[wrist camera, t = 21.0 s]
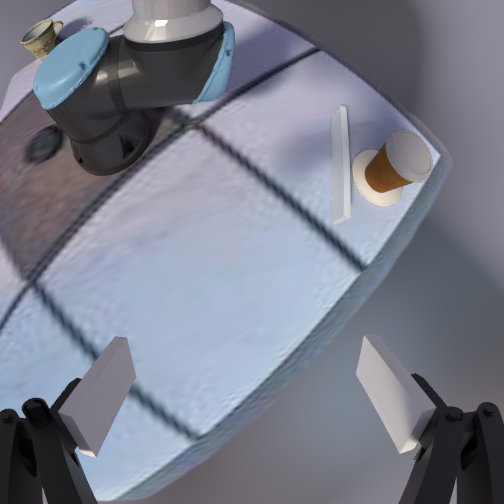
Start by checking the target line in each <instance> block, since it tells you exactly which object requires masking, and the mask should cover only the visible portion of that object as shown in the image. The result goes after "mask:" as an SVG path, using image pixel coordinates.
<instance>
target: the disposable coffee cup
mask: <svg viewBox="0 0 504 504" xmlns="http://www.w3.org/2000/svg"><path fill="white" fill-rule="evenodd" d="M432 167H433V160H432V156H431V153H430V151H429V148H428V147H427V145H426V144H425V142H424V141H423V140H422V139H421V138H420V137H419V136H418V135H417V134H415V133H414V132H412V131H410V130H406V129H401V130H395V131H393V132H391V133H390V134H389V135H388V138H387V141H386V143H385V144H384V145H383V147H382V148H381V149H380V150H379V152H378V153H377V154H376V155H375V157H374V158H373V159H372V160H371V162H370V163H369V164H368V165H367V166H366V168H365V179H366V181H367V183H368V185H369V186H370V187H371V188H372V189H373V190H374V191H376V192H378V193H385V192H388V191H391V190H393V189H396V188H399V187H402V186H405V185H408V184H411V183H413V182H422V181H425V180H426V179H427V178H428V176H429V174H430V173H431V171H432Z"/></svg>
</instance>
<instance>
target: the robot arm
mask: <svg viewBox="0 0 504 504" xmlns="http://www.w3.org/2000/svg"><path fill="white" fill-rule="evenodd" d="M131 1H132V7H133V16H132V17H131V18H130V19H129V20H128V21H127V23H126V24H125V25H124V27H123V35H119V36H114V37H109V34H108V33H107V32H106V31H105V30H104V29H103V28H97V27H93V28H88V29H84V30H82V31H79V32H77V33H75V34H73V35H72V36H70V37H68V38H67V39H65V40H64V41H63V42H61V43H60V44H59V45H58V46H56V47H55V48H54V49H53V50H52V51H51V52H50V53H49V54H48V55H47V57H46V58H45V59H44V60H43V62H42V63H41V65H40V66H39V68H38V70H37V72H36V74H35V77H34V82H33V89H34V92H35V94H36V96H37V97H38V99H39V100H40V102H41V106H42V107H43V108H44V109H45V110H46V111H47V112H48V113H49V115H50V116H51V117H52V118H53V119H54V121H55V122H56V123H57V124H58V125H59V126H60V128H61V129H62V130H63V131H64V132H65V133H66V135H67V136H68V137H69V138H70V142H71V147H72V151H73V155H74V157H75V159H76V161H77V163H78V164H79V165H80V166H81V167H82V168H83V169H84V170H85V171H87V172H88V173H90V174H93V175H98V176H106V175H111V174H115V173H118V172H120V171H122V170H124V169H126V168H127V167H129V166H130V165H131V164H133V163H134V162H135V161H136V160H137V159H138V158H139V157H140V155H141V154H142V153H143V151H144V150H145V148H146V146H147V144H148V141H149V138H150V123H149V120H148V117H147V115H146V113H145V111H144V110H143V109H150V108H157V107H165V106H173V105H183V104H190V105H191V104H195V103H197V102H204V101H212V100H215V99H217V98H219V97H220V96H221V95H222V94H223V93H224V92H225V90H226V88H227V85H228V82H229V79H230V75H231V70H232V65H233V52H234V46H235V32H234V27H233V25H232V24H231V23H229V22H226V21H223V13H222V11H221V10H220V9H219V8H217V7H216V6H215V5H213V4H212V3H211V0H131ZM356 375H357V377H358V378H359V380H360V382H361V383H362V385H363V387H364V389H365V391H366V392H367V394H368V396H369V398H370V400H371V401H372V403H373V405H374V407H375V409H376V410H377V412H378V414H379V416H380V418H381V419H382V421H383V423H384V425H385V427H386V429H387V430H388V432H389V434H390V436H391V438H392V439H393V441H394V443H395V445H396V447H397V449H398V451H399V453H403V452H406V451H409V450H412V449H414V447H415V446H416V444H417V442H418V441H419V442H420V444H421V445H422V446H421V448H420V450H419V451H418V453H417V454H416V456H415V458H414V460H415V459H416V461H415V464H414V467H413V470H412V472H411V475H410V478H409V480H408V483H407V485H406V488H405V490H404V492H403V495H402V497H401V499H400V501H399V503H398V504H449V502H450V499H451V496H452V492H453V488H454V484H455V480H456V476H457V504H504V424H503V420H502V417H501V414H500V411H499V409H498V407H497V406H496V405H495V404H493V403H490V402H484V403H482V404H480V405H479V407H478V408H477V410H476V411H475V412H467V413H464V412H463V411H462V410H461V409H459V408H457V407H451V406H449V407H447V405H446V404H445V403H444V402H443V400H442V399H441V398H440V397H439V396H438V394H437V393H436V392H435V391H434V390H433V388H432V387H431V386H429V384H428V382H427V381H426V380H425V379H424V378H422V377H421V376H419V375H418V374H411V375H410V374H409V373H408V371H407V370H406V369H405V368H404V367H403V365H402V364H401V363H400V362H399V360H398V359H397V358H396V357H395V356H394V354H392V352H391V351H390V350H389V349H388V347H387V346H386V345H385V344H384V343H383V341H382V340H381V339H380V338H379V337H378V336H377V334H370V335H364V339H363V344H362V349H361V354H360V359H359V363H358V368H357V372H356ZM135 378H136V373H135V369H134V365H133V361H132V357H131V353H130V349H129V345H128V340H127V338H125V337H114V339H113V340H112V341H111V342H110V344H109V345H108V346H107V347H106V349H105V350H104V351H103V352H102V354H101V355H100V356H99V358H98V359H97V360H96V361H95V363H94V364H93V365H92V367H91V368H90V369H89V370H88V372H87V373H86V374H85V376H84V377H83V378H82V379H80V378H76V379H75V380H73V381H72V382H70V383H69V384H68V386H67V387H66V388H65V391H63V392H62V393H61V395H60V396H59V397H58V398H57V400H56V401H55V402H54V404H53V405H52V406H51V408H50V409H49V407H48V405H47V404H46V402H45V401H44V400H43V399H41V398H32V399H29V400H27V401H26V402H25V403H24V404H23V406H22V411H23V413H24V415H25V416H26V418H20V417H19V416H18V414H17V412H16V411H15V410H13V409H4V410H2V411H1V412H0V504H43V498H42V486H43V489H44V493H45V496H46V499H47V502H48V504H98V503H97V501H96V499H95V497H94V494H93V492H92V490H91V488H90V486H89V484H88V481H87V479H86V477H85V474H84V472H83V469H82V467H81V464H80V462H79V459H78V456H77V454H76V453H75V449H76V447H77V446H78V447H79V449H80V451H81V452H82V453H83V454H86V455H89V456H93V457H97V455H98V452H99V450H100V448H101V446H102V444H103V442H104V440H105V438H106V436H107V434H108V432H109V429H110V427H111V425H112V423H113V421H114V419H115V417H116V415H117V413H118V411H119V409H120V407H121V405H122V403H123V401H124V399H125V398H126V396H127V394H128V392H129V390H130V388H131V386H132V384H133V382H134V380H135Z"/></svg>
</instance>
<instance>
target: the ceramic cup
mask: <svg viewBox="0 0 504 504" xmlns="http://www.w3.org/2000/svg"><path fill="white" fill-rule="evenodd" d="M59 23H60V24H62V27H63V23H62V22H61V21H58V22H56V23H54V24H53V22H52V19H46V20H43V21H41V22H39V23H38V24H36V25H35V26H33V27H32V28H31V29H29V30H28V31H27V32H26V33H25V35H24V36H23V37H22V39H21V43H22V44H23V45H24V46H25V47H26V48H27V49H28V50H29V51H30V52H32V54H33V55H35V57H36V58H38V59H40V60H43V59H45V58H46V57H47V55H48V54H49V53H50V52H51V51H52V50H53V49H54V48H55V47H56V46H58V45H57V41H56V36H57V35H58V33H59V31H60V30H61V29H62V27H61V28H60V29H59V31H58V33H57V35H55V32H54V26H55V25H56V24H59Z"/></svg>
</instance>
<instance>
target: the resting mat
mask: <svg viewBox="0 0 504 504" xmlns="http://www.w3.org/2000/svg"><path fill="white" fill-rule="evenodd" d="M378 152H379V151H377V150H371V149H369V150H364V151H362V152H360V153H359V154H358V155H357V156H356V157H355V158H354V160H353V163H352V177H353V180H354V183H355V185H356V187H357V189H358V191H359V192H360V193H361V195H362V196H363V197H364V198H365V199H366V200H368V201H369V202H370V203H372V204H374V205H376V206H380V207H389V206H392V205H393V204H395V203H396V202H398V200H399V199H400V197H401V195H402V191H403V186H402V187H399V188H396V189H393V190H391V191H388V192H385V193H378V192H376V191H374V190H373V189H372V188H371V187H370V186H369V185H368V183H367V181H366V179H365V168H366V166H367V165H368V164H369V163H370V162H371V160H372V159H373V158H374V157H375V155H376V154H377V153H378Z"/></svg>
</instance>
